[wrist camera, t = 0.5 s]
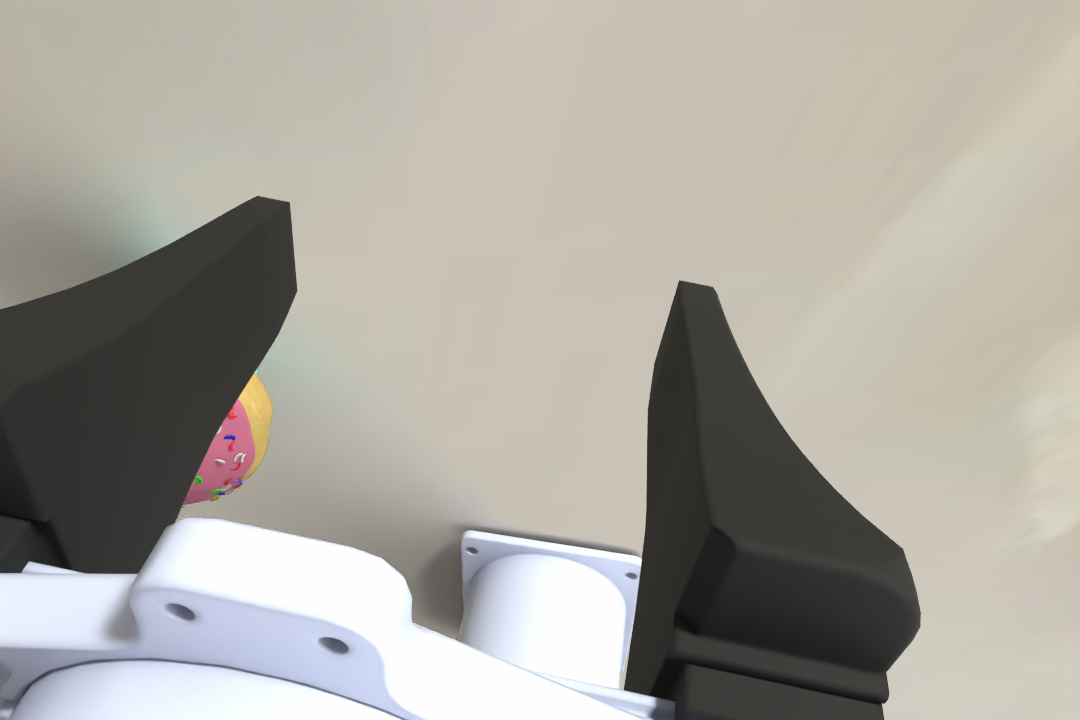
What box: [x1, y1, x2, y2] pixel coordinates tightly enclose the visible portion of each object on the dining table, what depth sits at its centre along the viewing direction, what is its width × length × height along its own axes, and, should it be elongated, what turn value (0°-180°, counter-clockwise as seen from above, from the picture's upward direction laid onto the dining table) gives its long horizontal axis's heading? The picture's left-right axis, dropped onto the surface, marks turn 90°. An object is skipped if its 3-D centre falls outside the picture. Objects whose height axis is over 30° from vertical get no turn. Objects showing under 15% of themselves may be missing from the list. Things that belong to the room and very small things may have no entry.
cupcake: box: [181, 368, 273, 508], centre depth 27 cm, size 9×8×12 cm
